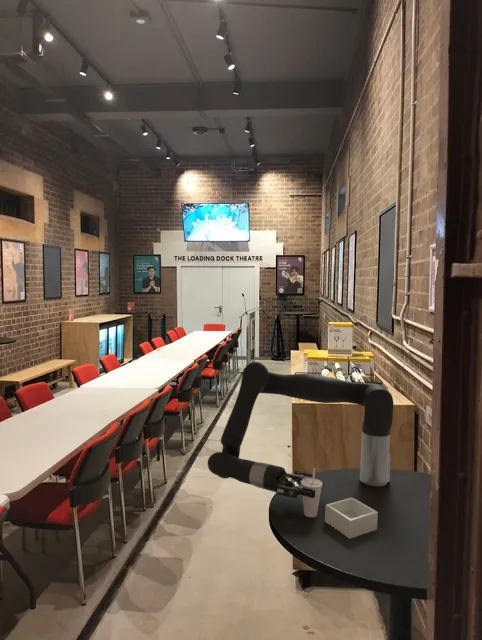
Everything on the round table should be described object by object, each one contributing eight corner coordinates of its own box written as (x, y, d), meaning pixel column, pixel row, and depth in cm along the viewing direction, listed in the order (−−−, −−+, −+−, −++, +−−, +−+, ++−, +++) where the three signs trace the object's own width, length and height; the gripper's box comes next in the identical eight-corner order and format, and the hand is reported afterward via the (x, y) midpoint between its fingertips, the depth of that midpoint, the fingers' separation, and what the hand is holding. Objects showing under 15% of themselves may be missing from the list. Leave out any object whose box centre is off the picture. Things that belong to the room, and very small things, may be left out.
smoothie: (321, 521, 135) (323, 473, 133) (298, 518, 136) (300, 471, 135) (321, 510, 141) (323, 464, 140) (300, 507, 142) (301, 462, 141)
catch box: (351, 513, 140) (352, 497, 139) (377, 529, 131) (377, 512, 130) (324, 521, 134) (325, 504, 134) (349, 538, 126) (350, 520, 125)
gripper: (256, 472, 138) (310, 486, 130) (277, 457, 151) (328, 468, 143) (256, 497, 139) (309, 512, 131) (277, 480, 151) (327, 492, 143)
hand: (319, 489), depth 137 cm, fingers closed on smoothie, 6 cm apart
